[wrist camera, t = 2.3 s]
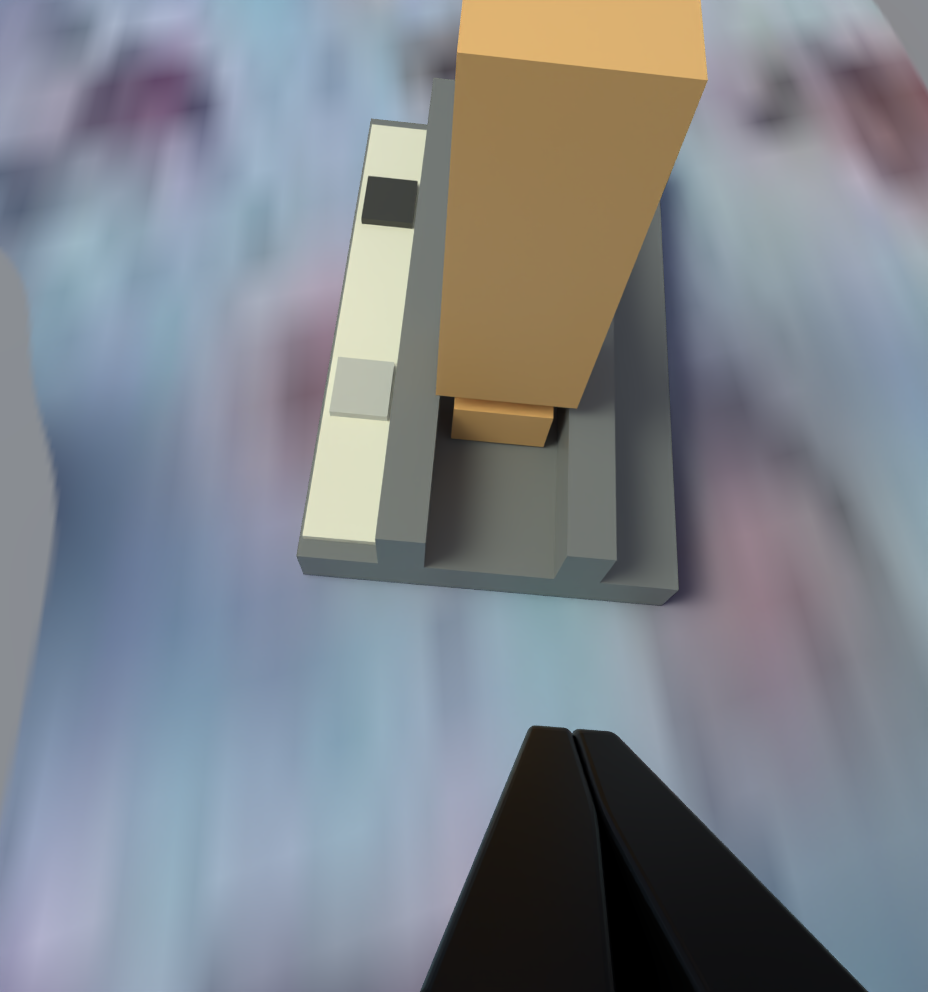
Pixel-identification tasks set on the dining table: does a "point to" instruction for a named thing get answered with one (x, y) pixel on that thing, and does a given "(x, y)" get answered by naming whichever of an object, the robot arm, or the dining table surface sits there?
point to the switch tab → (553, 193)
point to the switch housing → (477, 464)
